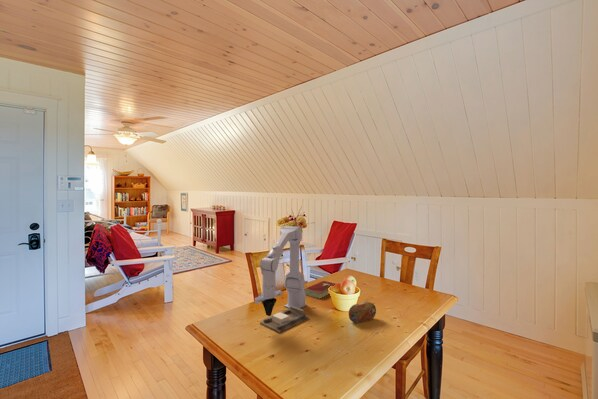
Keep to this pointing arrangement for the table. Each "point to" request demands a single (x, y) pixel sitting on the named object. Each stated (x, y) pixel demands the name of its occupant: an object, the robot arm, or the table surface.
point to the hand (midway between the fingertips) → (268, 314)
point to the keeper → (280, 318)
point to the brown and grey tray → (295, 318)
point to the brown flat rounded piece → (362, 312)
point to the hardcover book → (318, 289)
